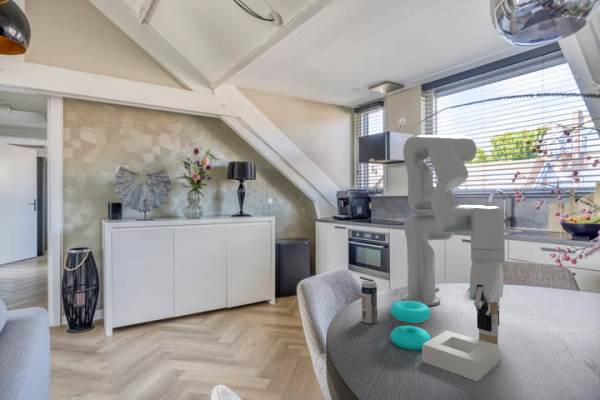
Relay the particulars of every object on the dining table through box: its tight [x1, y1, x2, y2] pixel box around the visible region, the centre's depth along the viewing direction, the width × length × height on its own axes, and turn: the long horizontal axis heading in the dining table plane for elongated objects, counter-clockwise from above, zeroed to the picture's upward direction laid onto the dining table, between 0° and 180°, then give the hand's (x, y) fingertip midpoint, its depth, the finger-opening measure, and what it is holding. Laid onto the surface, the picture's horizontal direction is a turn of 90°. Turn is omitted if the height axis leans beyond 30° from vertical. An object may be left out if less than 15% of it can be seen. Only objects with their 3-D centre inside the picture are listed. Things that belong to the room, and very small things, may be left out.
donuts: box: [389, 300, 432, 351], centre depth 89 cm, size 10×10×10 cm
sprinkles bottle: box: [478, 295, 499, 345], centre depth 87 cm, size 5×5×14 cm
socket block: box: [421, 330, 500, 382], centre depth 78 cm, size 12×12×4 cm
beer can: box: [360, 280, 378, 325], centre depth 104 cm, size 5×5×12 cm
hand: (488, 326), depth 87 cm, fingers closed on sprinkles bottle, 4 cm apart
